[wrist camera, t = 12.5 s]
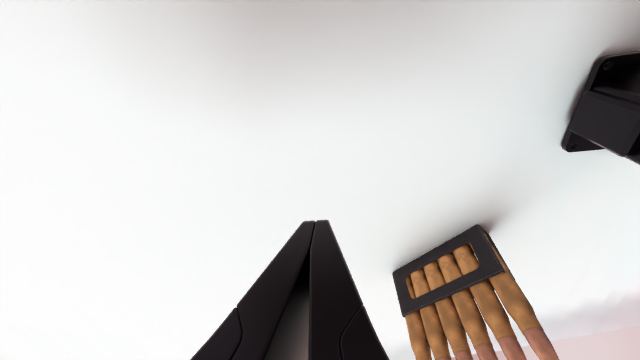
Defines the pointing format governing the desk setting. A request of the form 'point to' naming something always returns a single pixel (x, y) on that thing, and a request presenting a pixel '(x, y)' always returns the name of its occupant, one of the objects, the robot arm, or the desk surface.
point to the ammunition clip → (466, 302)
